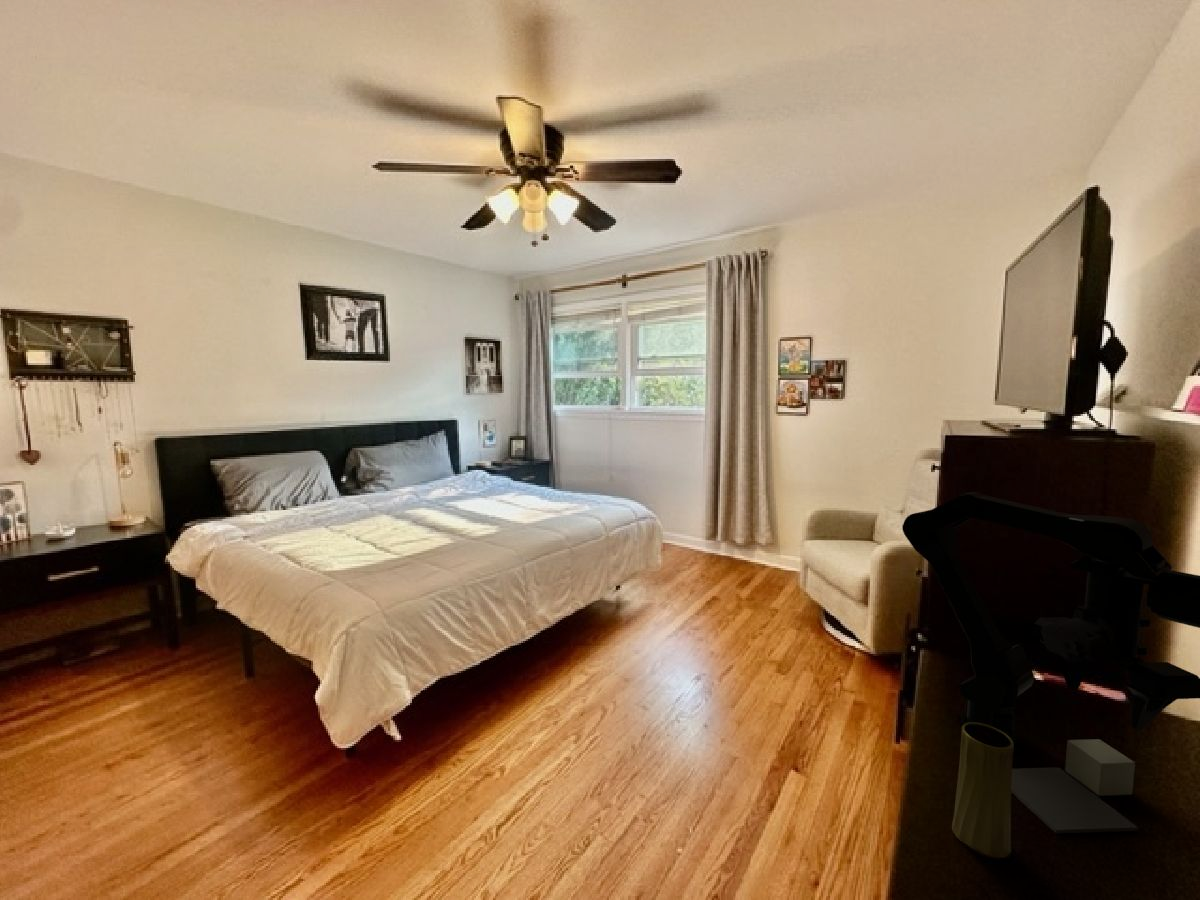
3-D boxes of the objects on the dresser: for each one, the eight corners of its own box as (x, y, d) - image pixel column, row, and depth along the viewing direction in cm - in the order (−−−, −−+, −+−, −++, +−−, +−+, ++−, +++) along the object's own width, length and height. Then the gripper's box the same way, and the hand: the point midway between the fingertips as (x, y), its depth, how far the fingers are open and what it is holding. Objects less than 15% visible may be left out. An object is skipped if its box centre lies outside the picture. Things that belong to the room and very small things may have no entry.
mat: (988, 772, 77) (988, 769, 76) (1058, 770, 77) (1058, 767, 77) (1056, 833, 66) (1056, 829, 66) (1137, 830, 66) (1137, 827, 66)
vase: (953, 812, 69) (959, 714, 68) (1011, 836, 65) (1018, 732, 64) (949, 842, 64) (955, 737, 63) (1011, 870, 60) (1019, 758, 59)
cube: (1064, 770, 77) (1067, 740, 76) (1096, 770, 77) (1099, 739, 77) (1098, 796, 72) (1101, 763, 71) (1131, 795, 72) (1135, 762, 72)
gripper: (1004, 583, 81) (997, 675, 83) (1127, 637, 63) (1116, 754, 64) (1071, 582, 81) (1063, 674, 83) (1214, 635, 63) (1201, 752, 64)
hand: (1103, 709), depth 73 cm, fingers open, 9 cm apart
